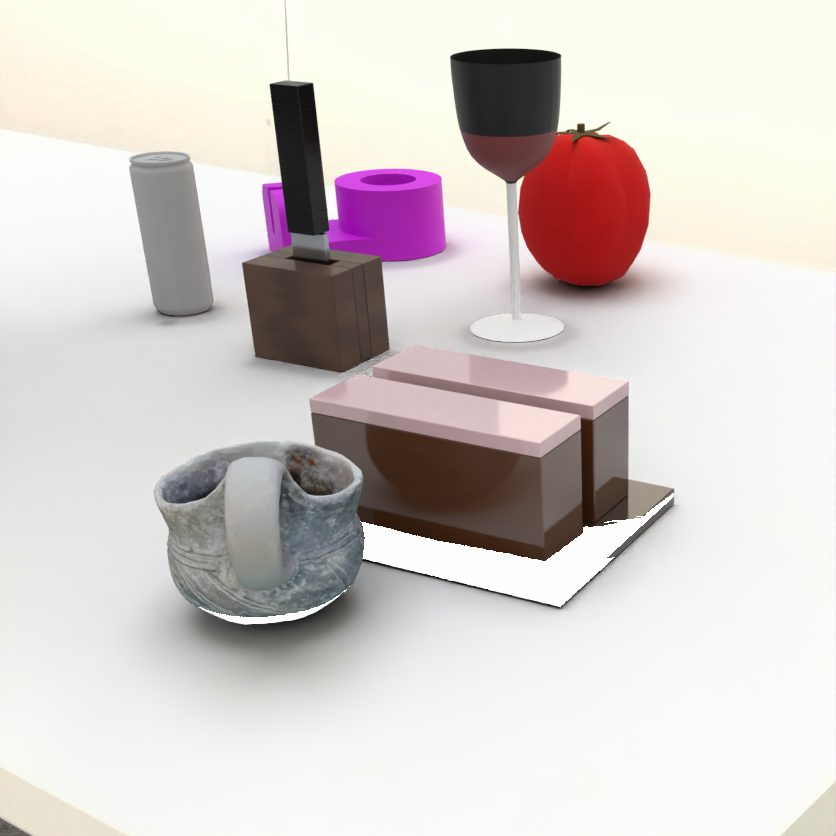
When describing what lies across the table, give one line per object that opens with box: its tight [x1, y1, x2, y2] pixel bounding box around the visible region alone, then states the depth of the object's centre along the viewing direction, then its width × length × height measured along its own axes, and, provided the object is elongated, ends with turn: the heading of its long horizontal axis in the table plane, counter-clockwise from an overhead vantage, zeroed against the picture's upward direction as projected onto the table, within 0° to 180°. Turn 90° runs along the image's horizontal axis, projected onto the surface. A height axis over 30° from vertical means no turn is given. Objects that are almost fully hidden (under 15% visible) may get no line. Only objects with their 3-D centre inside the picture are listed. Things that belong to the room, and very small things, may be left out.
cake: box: [308, 344, 675, 561], centre depth 74 cm, size 18×14×8 cm
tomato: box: [517, 121, 651, 287], centre depth 114 cm, size 12×12×13 cm
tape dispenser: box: [261, 168, 447, 262], centre depth 125 cm, size 16×10×6 cm, turn 114°
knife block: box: [241, 245, 390, 373], centre depth 99 cm, size 8×6×7 cm
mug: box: [153, 439, 365, 617], centre depth 63 cm, size 10×12×10 cm
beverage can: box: [128, 150, 215, 317], centre depth 107 cm, size 5×5×12 cm
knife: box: [269, 79, 331, 265], centre depth 96 cm, size 3×2×19 cm, turn 65°
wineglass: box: [449, 47, 565, 343], centre depth 101 cm, size 8×9×20 cm
